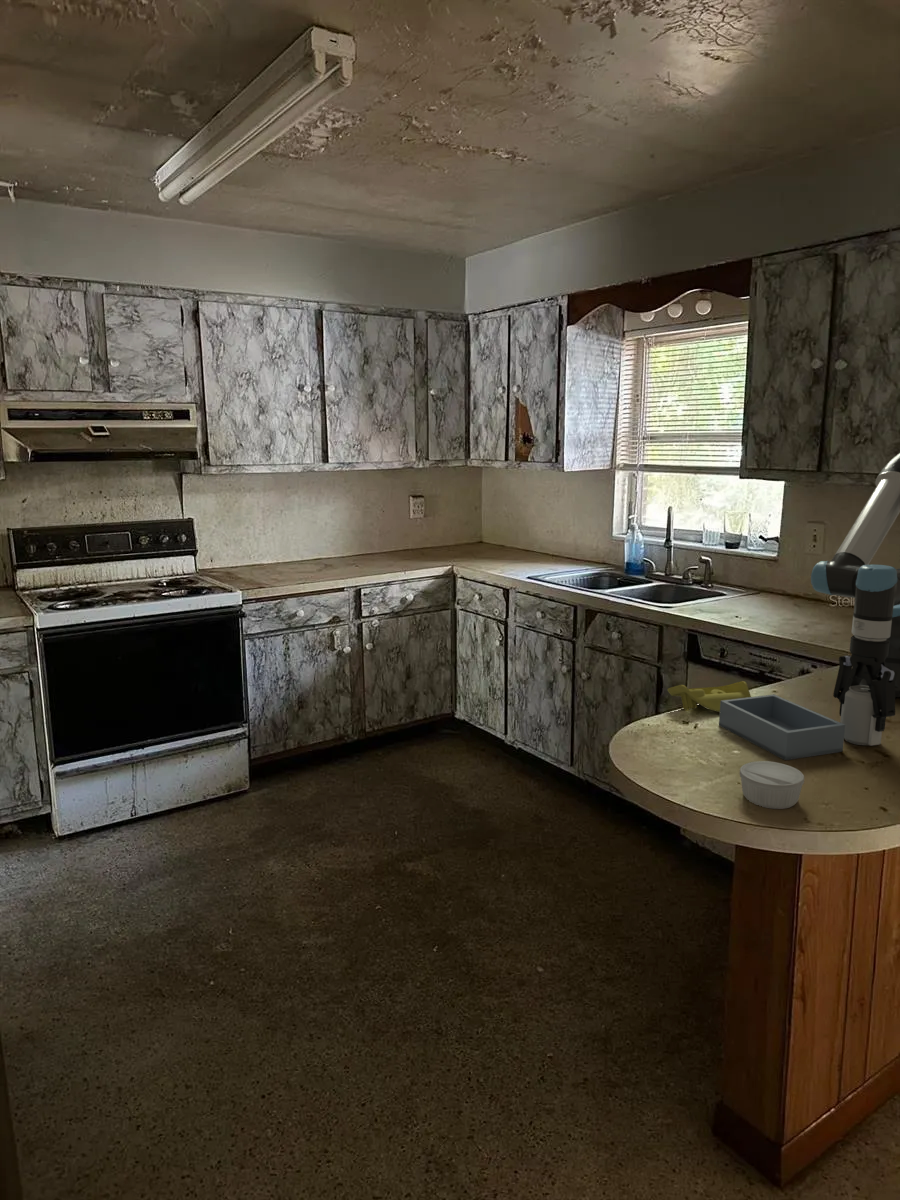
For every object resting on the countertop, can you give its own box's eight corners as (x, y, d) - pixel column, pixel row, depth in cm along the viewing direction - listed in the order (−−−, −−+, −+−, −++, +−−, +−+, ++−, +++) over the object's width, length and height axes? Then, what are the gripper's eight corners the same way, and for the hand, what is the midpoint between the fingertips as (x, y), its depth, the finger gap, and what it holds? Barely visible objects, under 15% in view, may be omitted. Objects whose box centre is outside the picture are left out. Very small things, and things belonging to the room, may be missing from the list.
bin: (771, 718, 199) (774, 694, 198) (842, 751, 179) (845, 724, 177) (718, 725, 194) (720, 700, 193) (785, 760, 174) (787, 732, 172)
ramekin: (741, 809, 152) (744, 782, 150) (734, 784, 162) (736, 758, 161) (807, 815, 149) (810, 787, 148) (795, 789, 160) (798, 763, 159)
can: (886, 744, 182) (892, 692, 180) (857, 748, 180) (863, 694, 178) (860, 733, 190) (866, 682, 187) (833, 736, 187) (838, 684, 185)
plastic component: (721, 686, 216) (749, 679, 207) (727, 715, 214) (755, 709, 206) (659, 690, 208) (685, 683, 199) (664, 720, 206) (691, 714, 197)
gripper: (821, 627, 189) (812, 724, 193) (895, 650, 170) (883, 756, 174) (847, 625, 191) (838, 720, 195) (923, 647, 172) (911, 752, 177)
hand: (859, 737), depth 185 cm, fingers closed on can, 7 cm apart
